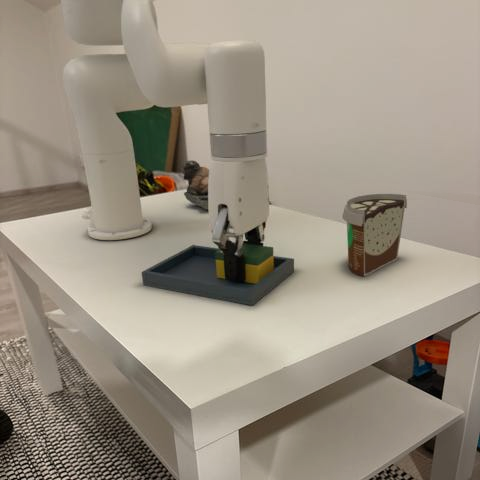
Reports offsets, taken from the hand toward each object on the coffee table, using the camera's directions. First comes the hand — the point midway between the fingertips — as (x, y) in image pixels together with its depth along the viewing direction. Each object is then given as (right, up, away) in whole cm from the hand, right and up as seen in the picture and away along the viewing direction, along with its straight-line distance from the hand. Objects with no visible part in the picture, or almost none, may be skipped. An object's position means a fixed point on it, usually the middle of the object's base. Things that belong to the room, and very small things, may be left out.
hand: (244, 272), depth 76 cm
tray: (-4, -1, +1) cm, 4 cm away
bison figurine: (-9, +19, +41) cm, 46 cm away
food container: (+19, +2, +4) cm, 19 cm away
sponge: (0, 0, 0) cm, 0 cm away
